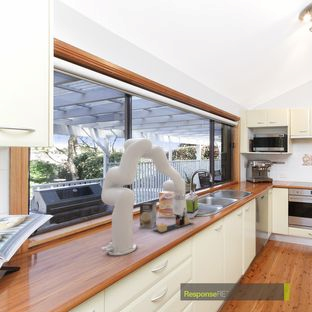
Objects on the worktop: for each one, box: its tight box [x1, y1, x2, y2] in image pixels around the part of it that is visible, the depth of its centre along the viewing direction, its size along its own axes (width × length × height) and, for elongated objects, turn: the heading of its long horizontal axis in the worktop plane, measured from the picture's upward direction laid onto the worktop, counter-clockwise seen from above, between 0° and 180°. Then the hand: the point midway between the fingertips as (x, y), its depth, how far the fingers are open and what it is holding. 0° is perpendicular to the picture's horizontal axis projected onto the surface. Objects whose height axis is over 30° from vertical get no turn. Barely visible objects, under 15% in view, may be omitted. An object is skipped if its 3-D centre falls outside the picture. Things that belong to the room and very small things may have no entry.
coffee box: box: [139, 201, 158, 229], centre depth 147 cm, size 9×6×16 cm
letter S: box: [175, 218, 182, 226], centre depth 149 cm, size 4×4×4 cm
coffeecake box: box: [158, 190, 180, 218], centre depth 173 cm, size 15×7×20 cm, turn 88°
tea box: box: [182, 195, 199, 219], centre depth 175 cm, size 15×10×15 cm
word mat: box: [152, 217, 194, 235], centre depth 146 cm, size 26×10×4 cm, turn 142°
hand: (179, 223), depth 149 cm, fingers closed on letter S, 4 cm apart
